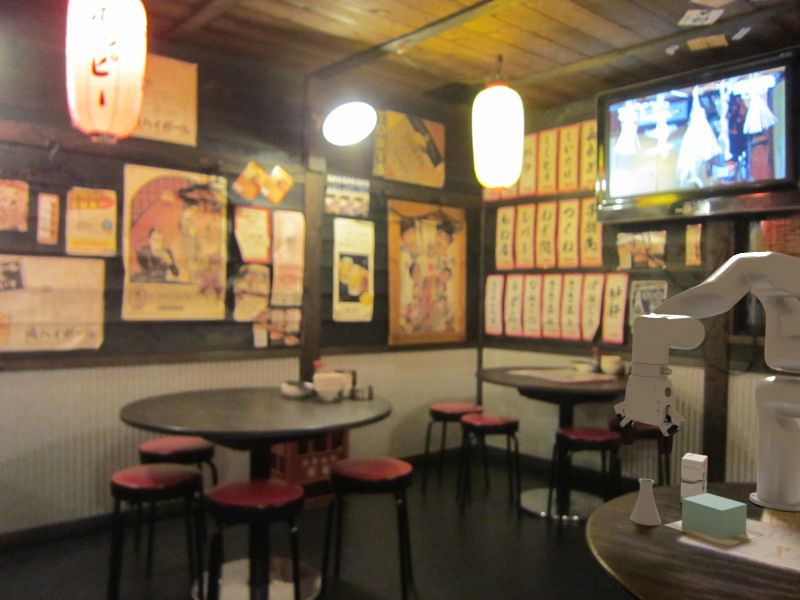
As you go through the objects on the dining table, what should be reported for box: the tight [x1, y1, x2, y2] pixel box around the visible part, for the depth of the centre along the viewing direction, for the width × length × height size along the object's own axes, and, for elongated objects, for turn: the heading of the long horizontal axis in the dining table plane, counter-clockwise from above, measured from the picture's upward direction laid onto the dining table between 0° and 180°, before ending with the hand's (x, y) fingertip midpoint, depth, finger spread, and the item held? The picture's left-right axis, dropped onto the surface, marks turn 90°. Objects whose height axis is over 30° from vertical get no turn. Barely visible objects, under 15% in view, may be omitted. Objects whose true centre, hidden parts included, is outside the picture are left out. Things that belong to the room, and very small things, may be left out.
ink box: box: [680, 452, 709, 503], centre depth 161 cm, size 9×5×12 cm, turn 148°
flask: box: [629, 478, 662, 526], centre depth 145 cm, size 7×7×10 cm
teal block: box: [681, 492, 748, 540], centre depth 140 cm, size 9×9×6 cm
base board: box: [664, 519, 765, 548], centre depth 140 cm, size 14×14×1 cm
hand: (646, 449), depth 145 cm, fingers open, 9 cm apart
